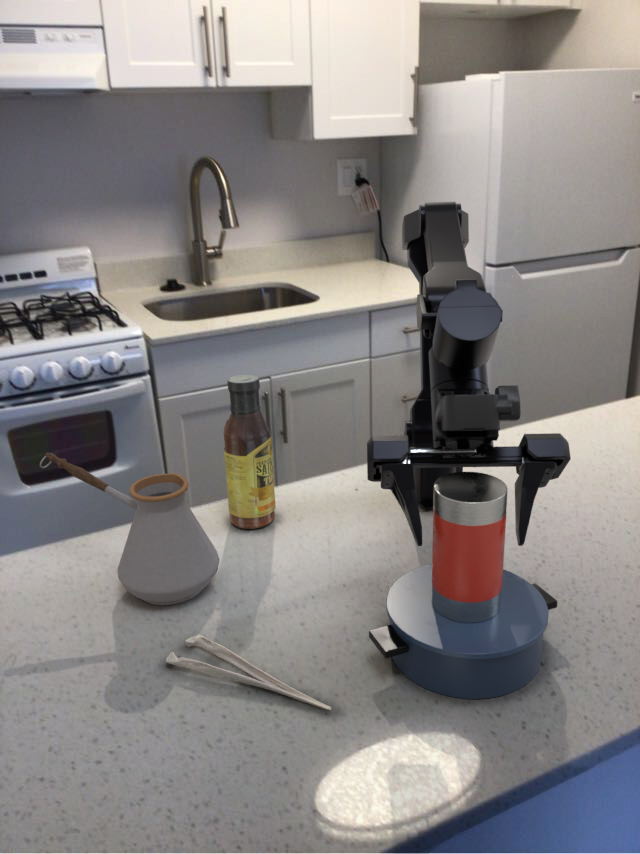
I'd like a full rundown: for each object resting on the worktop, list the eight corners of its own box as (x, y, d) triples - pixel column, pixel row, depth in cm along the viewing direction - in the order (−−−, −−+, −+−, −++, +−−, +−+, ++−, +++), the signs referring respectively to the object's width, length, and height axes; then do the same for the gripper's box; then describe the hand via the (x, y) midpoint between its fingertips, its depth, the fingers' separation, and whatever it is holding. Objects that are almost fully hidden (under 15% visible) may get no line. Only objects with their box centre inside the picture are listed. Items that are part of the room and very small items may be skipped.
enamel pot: (416, 728, 65) (416, 679, 63) (344, 629, 79) (343, 586, 77) (595, 667, 72) (600, 621, 70) (500, 585, 85) (502, 545, 83)
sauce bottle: (269, 533, 98) (259, 387, 91) (223, 530, 100) (210, 386, 92) (281, 510, 104) (273, 371, 97) (238, 507, 105) (226, 370, 98)
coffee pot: (238, 569, 90) (228, 453, 85) (188, 624, 80) (173, 497, 75) (92, 541, 98) (74, 434, 93) (30, 588, 88) (6, 471, 83)
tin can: (440, 578, 77) (443, 467, 73) (506, 590, 75) (513, 476, 70) (423, 615, 72) (425, 496, 67) (494, 629, 69) (500, 507, 65)
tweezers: (162, 667, 74) (161, 651, 73) (193, 641, 78) (192, 625, 77) (317, 739, 66) (318, 721, 65) (342, 705, 70) (343, 688, 69)
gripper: (365, 355, 69) (368, 520, 63) (574, 350, 68) (598, 518, 61) (366, 407, 79) (368, 554, 73) (547, 404, 78) (566, 553, 72)
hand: (470, 545), depth 69 cm, fingers open, 9 cm apart
